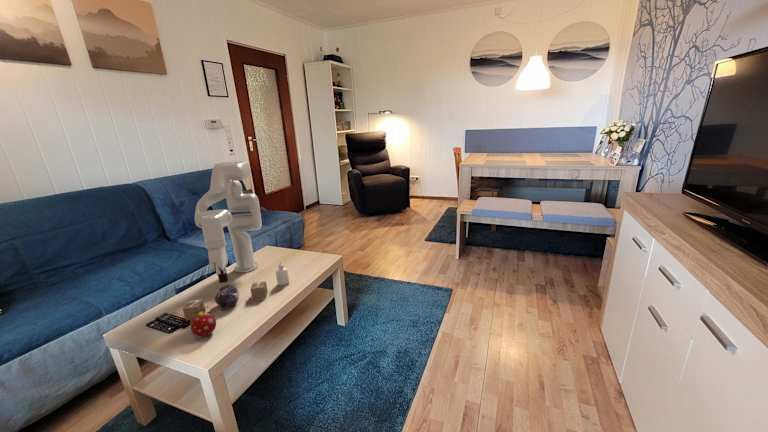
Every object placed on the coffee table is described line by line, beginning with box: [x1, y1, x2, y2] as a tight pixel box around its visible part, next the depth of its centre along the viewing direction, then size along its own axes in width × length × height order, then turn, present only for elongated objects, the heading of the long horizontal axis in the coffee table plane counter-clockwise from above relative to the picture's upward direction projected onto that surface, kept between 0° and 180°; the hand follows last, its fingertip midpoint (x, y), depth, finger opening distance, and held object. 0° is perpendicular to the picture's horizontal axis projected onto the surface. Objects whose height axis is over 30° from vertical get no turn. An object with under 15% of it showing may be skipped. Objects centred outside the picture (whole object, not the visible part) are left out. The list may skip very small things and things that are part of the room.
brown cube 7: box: [182, 298, 207, 322], centre depth 133 cm, size 6×6×6 cm
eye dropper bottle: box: [275, 261, 290, 287], centre depth 156 cm, size 4×6×12 cm
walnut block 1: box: [250, 280, 268, 301], centre depth 147 cm, size 6×6×6 cm
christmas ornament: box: [190, 312, 217, 338], centre depth 120 cm, size 9×9×10 cm
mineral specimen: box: [214, 283, 240, 310], centre depth 140 cm, size 10×10×10 cm
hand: (223, 281), depth 138 cm, fingers closed
